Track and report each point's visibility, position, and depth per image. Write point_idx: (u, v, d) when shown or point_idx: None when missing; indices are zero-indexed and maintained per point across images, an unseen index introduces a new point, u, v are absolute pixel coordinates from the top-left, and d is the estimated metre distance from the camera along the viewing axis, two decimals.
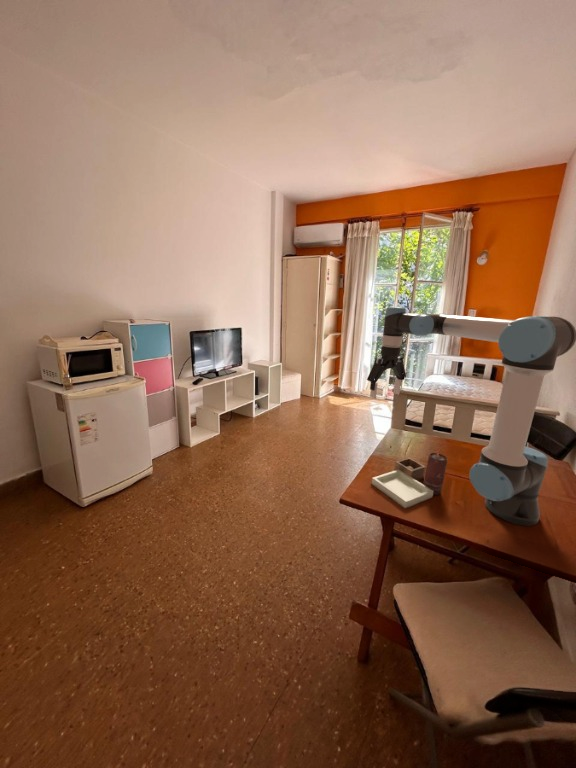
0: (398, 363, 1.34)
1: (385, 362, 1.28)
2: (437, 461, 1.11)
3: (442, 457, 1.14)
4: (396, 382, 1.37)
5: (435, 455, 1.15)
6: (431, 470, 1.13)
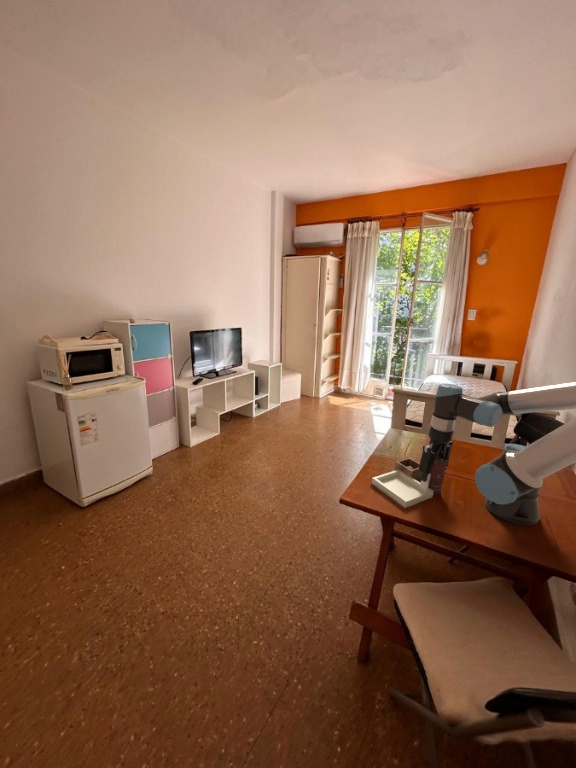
0: None
1: (435, 447, 1.09)
2: (437, 461, 1.11)
3: None
4: None
5: None
6: (431, 470, 1.13)
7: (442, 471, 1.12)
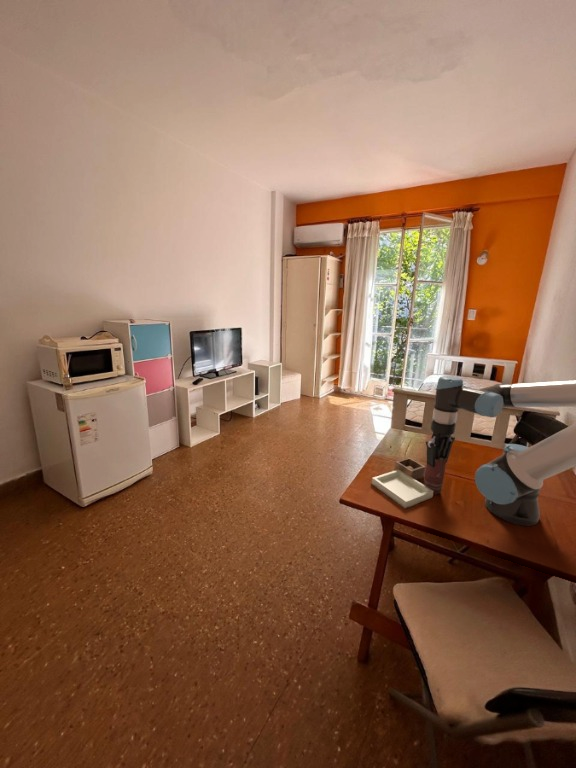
0: None
1: (437, 440, 1.09)
2: (436, 461, 1.11)
3: None
4: None
5: None
6: (431, 469, 1.13)
7: (442, 470, 1.12)
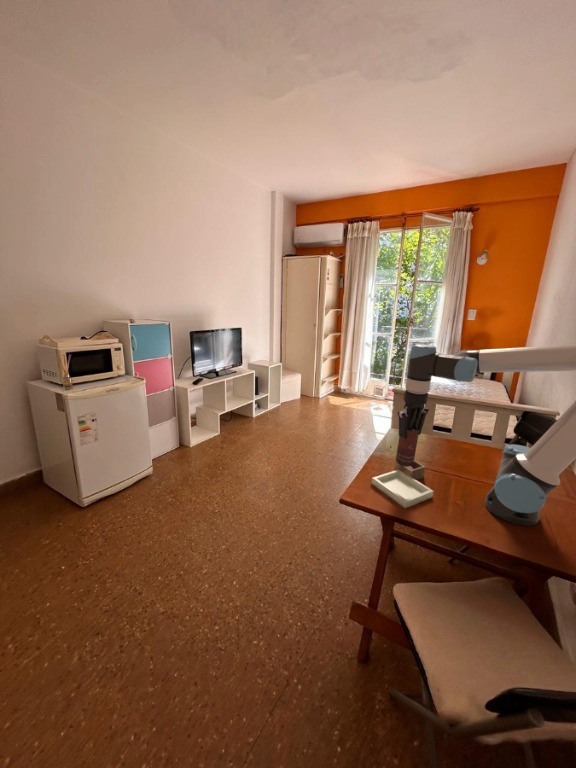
0: None
1: (409, 411, 1.06)
2: (408, 432, 1.08)
3: None
4: None
5: None
6: (403, 441, 1.10)
7: (414, 442, 1.09)
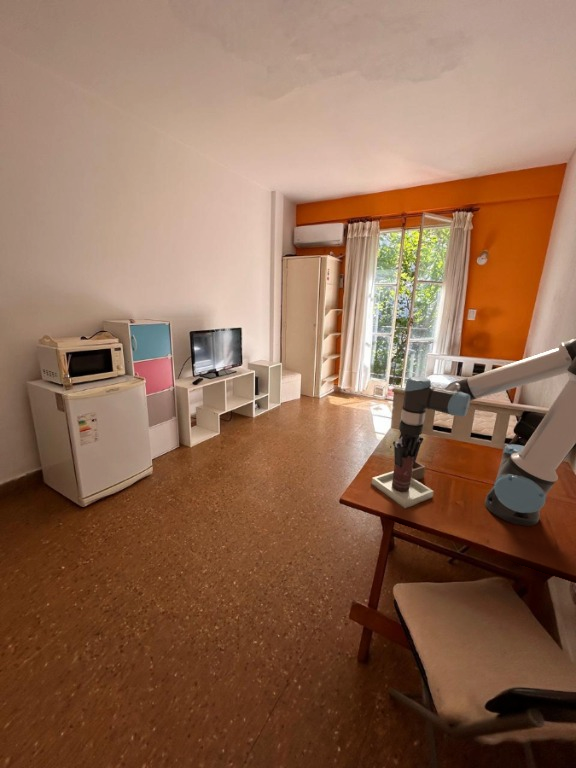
0: None
1: (404, 441, 1.09)
2: (403, 459, 1.11)
3: None
4: None
5: None
6: (398, 467, 1.13)
7: (409, 468, 1.12)
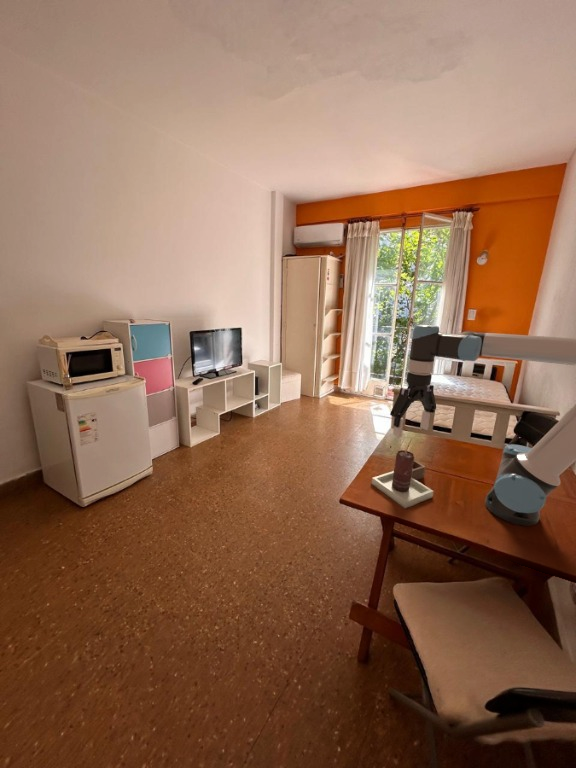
0: (427, 392, 1.10)
1: (412, 393, 1.04)
2: (404, 458, 1.11)
3: (410, 454, 1.14)
4: (424, 415, 1.12)
5: (403, 452, 1.15)
6: (398, 467, 1.13)
7: (409, 468, 1.12)
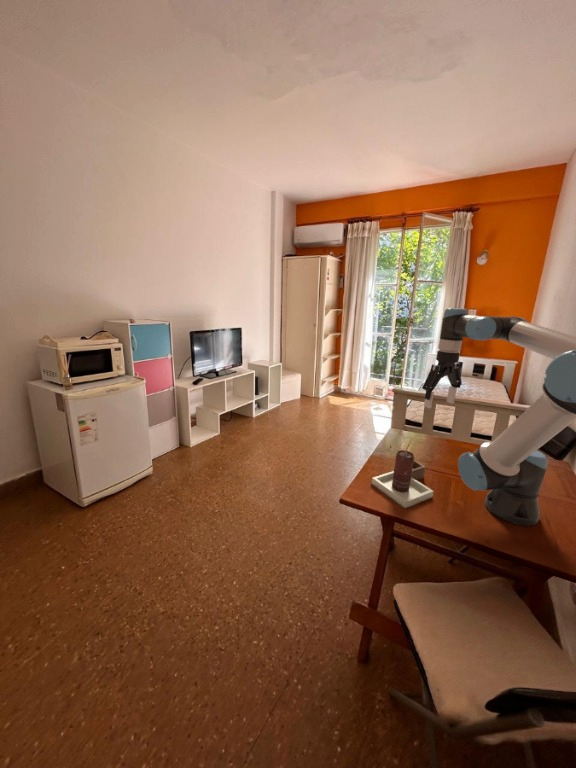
0: (454, 370, 1.23)
1: (442, 369, 1.17)
2: (404, 458, 1.11)
3: (409, 454, 1.14)
4: (450, 390, 1.25)
5: (403, 452, 1.15)
6: (398, 467, 1.13)
7: (409, 468, 1.12)
